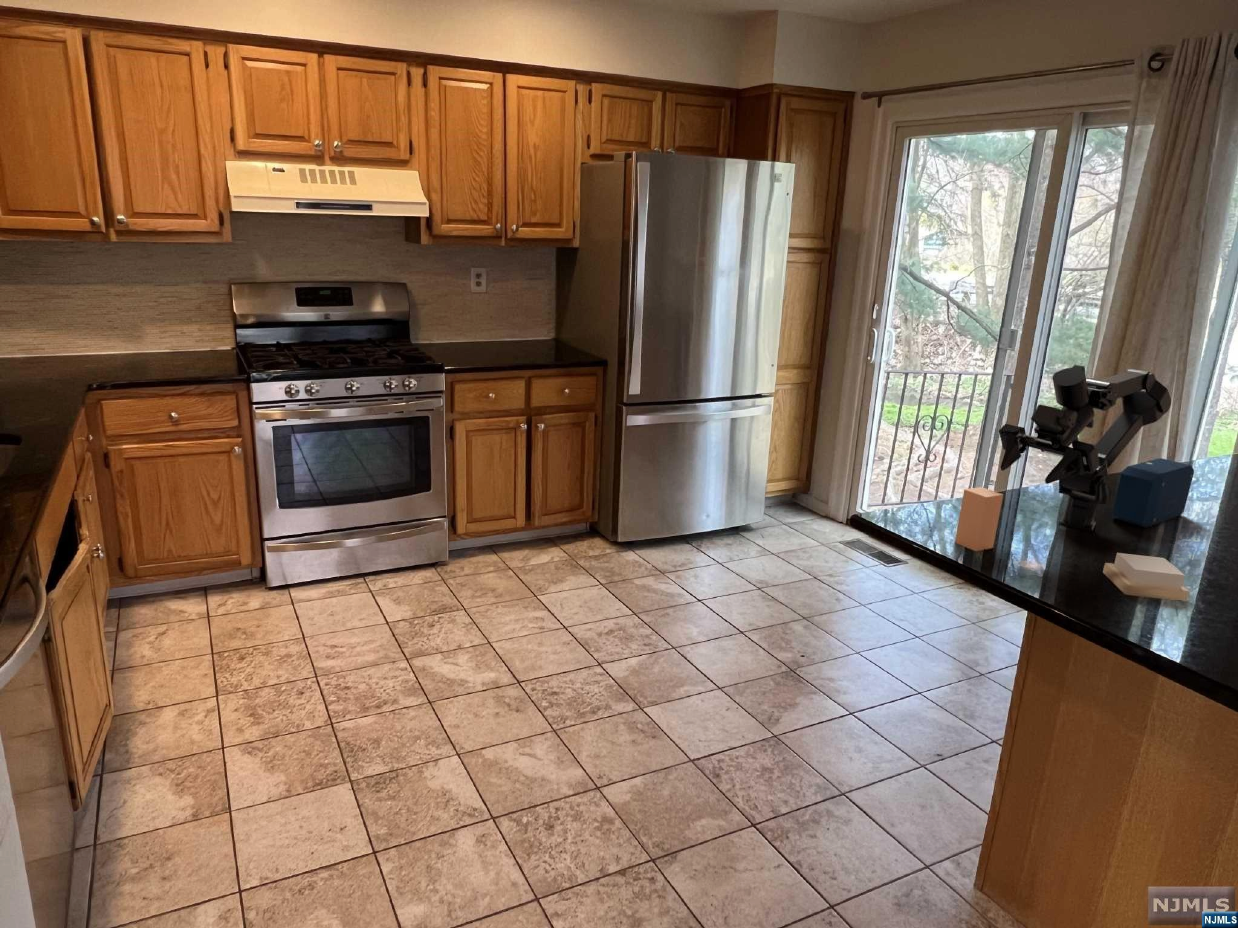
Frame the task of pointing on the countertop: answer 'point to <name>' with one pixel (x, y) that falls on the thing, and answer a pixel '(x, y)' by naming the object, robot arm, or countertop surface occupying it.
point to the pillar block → (978, 518)
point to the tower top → (1149, 570)
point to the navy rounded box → (1152, 491)
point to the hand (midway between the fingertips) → (1023, 475)
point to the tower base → (1143, 586)
